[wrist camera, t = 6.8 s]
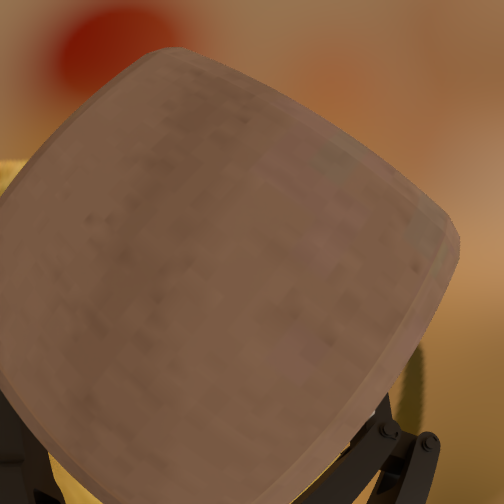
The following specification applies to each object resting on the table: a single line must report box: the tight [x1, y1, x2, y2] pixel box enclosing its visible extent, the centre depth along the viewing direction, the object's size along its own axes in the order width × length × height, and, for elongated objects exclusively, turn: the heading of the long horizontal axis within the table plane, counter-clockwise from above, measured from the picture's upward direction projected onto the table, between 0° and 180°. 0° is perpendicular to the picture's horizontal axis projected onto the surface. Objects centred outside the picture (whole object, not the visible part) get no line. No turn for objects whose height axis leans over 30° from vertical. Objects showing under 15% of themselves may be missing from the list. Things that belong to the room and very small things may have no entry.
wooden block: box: [0, 47, 460, 504], centre depth 14 cm, size 10×10×20 cm
